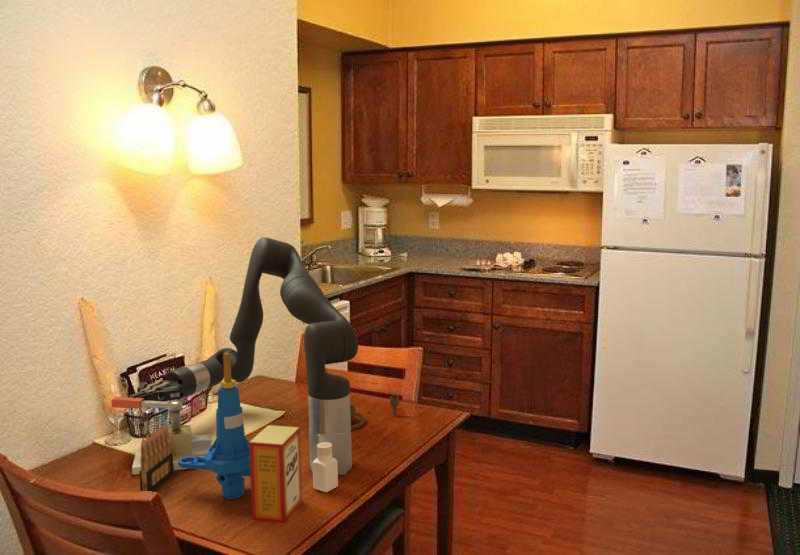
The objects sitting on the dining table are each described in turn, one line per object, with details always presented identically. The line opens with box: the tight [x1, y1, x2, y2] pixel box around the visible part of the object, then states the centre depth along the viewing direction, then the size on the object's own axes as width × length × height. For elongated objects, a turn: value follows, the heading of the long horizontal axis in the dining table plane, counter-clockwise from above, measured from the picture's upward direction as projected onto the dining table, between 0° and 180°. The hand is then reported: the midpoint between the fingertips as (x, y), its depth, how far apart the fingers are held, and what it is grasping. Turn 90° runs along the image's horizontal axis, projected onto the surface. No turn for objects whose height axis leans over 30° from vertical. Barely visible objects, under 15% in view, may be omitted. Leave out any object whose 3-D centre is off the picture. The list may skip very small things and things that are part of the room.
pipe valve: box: [145, 410, 213, 461], centre depth 167 cm, size 15×6×11 cm, turn 104°
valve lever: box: [111, 396, 184, 412], centre depth 168 cm, size 3×17×2 cm, turn 80°
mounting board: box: [131, 451, 204, 475], centre depth 168 cm, size 19×9×2 cm, turn 104°
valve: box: [178, 353, 251, 500], centre depth 150 cm, size 11×17×30 cm, turn 76°
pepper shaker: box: [312, 442, 339, 493], centre depth 154 cm, size 4×4×10 cm
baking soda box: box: [248, 424, 303, 524], centre depth 144 cm, size 10×6×16 cm
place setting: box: [350, 395, 400, 431], centre depth 192 cm, size 18×20×6 cm
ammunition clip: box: [139, 422, 175, 492], centre depth 156 cm, size 11×2×12 cm, turn 168°
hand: (130, 401), depth 170 cm, fingers closed
